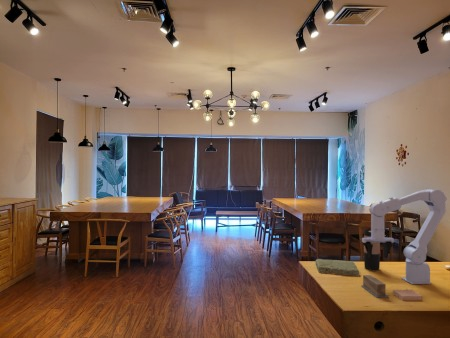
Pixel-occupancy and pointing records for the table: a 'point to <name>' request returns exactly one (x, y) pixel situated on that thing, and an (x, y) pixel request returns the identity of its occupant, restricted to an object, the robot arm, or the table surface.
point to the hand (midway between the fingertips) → (377, 257)
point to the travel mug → (372, 262)
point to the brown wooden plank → (374, 285)
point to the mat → (375, 294)
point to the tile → (407, 295)
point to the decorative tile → (337, 267)
